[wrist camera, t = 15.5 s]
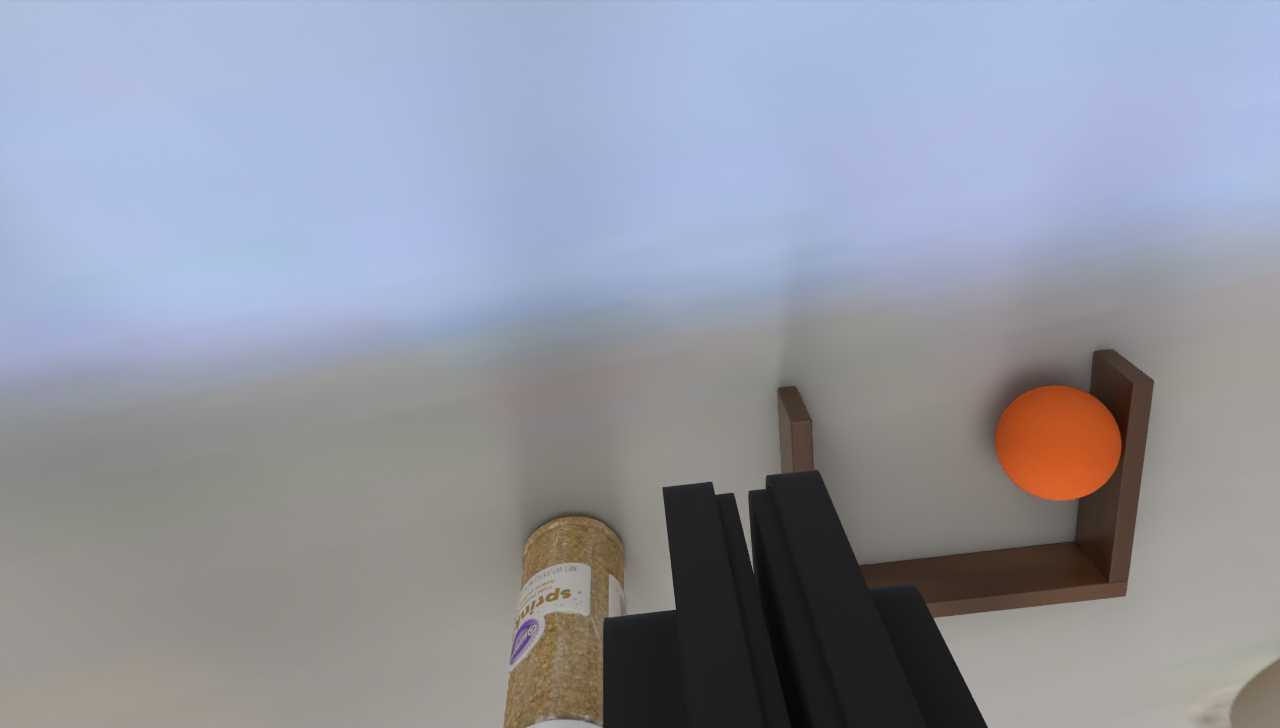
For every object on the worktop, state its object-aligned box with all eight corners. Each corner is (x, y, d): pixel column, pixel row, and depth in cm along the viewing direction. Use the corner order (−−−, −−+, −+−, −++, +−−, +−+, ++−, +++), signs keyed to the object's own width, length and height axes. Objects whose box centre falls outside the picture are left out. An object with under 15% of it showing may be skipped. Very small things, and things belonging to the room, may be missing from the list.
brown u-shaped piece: (788, 588, 41) (801, 633, 38) (777, 387, 37) (790, 422, 34) (1091, 554, 41) (1126, 596, 38) (1113, 348, 37) (1154, 380, 34)
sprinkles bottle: (542, 498, 39) (513, 750, 26) (642, 530, 39) (659, 788, 27) (508, 582, 40) (465, 855, 28) (605, 610, 41) (605, 888, 29)
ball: (955, 437, 38) (1008, 526, 35) (1011, 359, 35) (1073, 449, 32) (1042, 436, 40) (1100, 522, 37) (1102, 362, 37) (1170, 448, 34)
